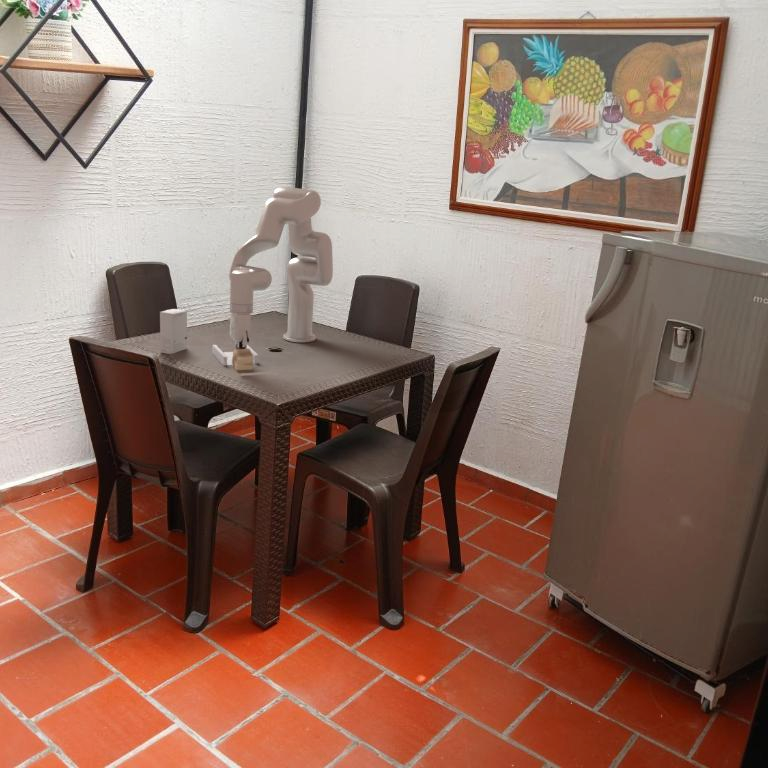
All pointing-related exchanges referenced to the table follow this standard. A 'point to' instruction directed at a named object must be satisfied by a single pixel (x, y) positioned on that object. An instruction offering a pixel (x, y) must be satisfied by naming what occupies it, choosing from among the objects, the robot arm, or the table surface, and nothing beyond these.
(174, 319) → the skincare box
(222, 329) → the table surface
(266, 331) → the table surface
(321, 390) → the table surface
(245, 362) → the birch block
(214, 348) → the u-shaped channel
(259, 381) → the table surface
